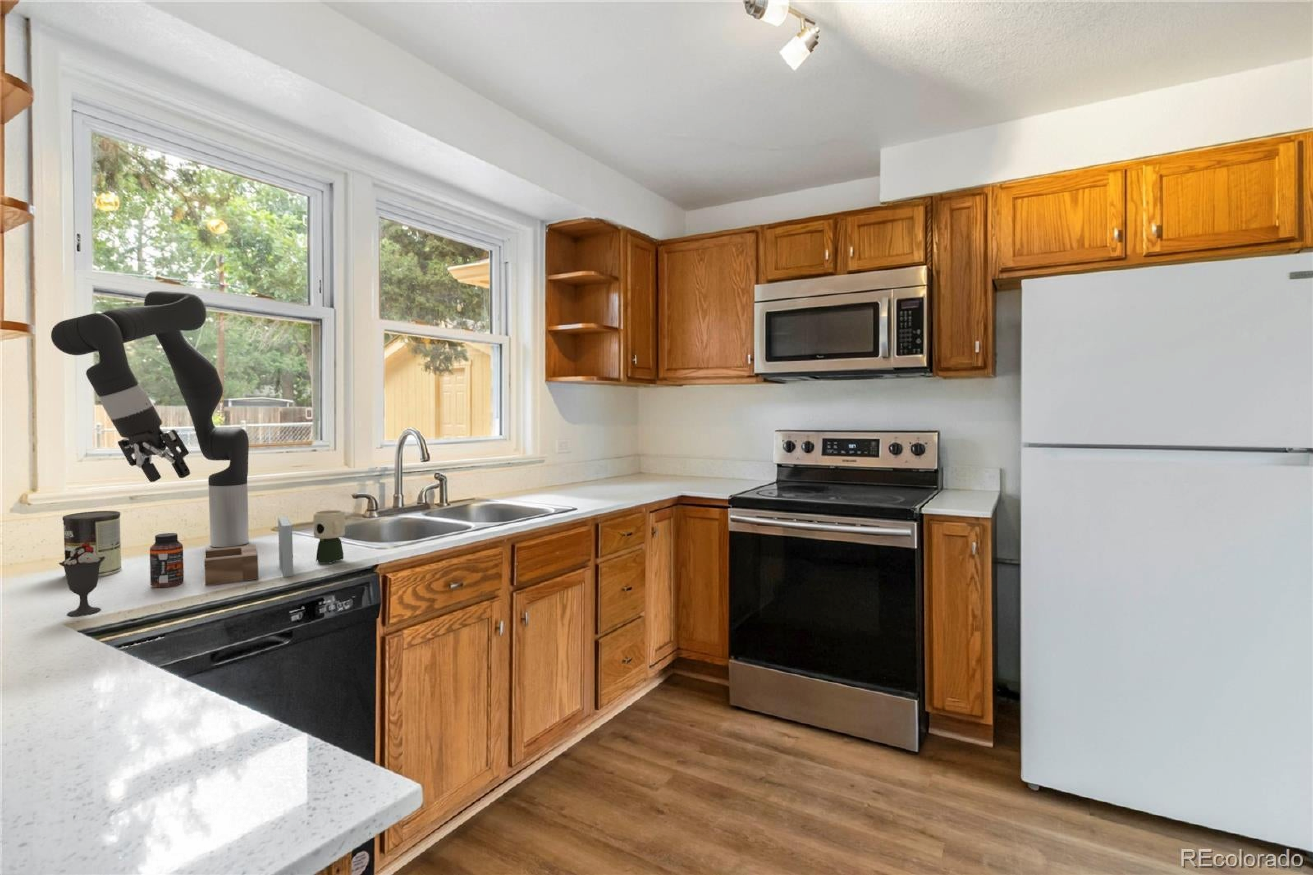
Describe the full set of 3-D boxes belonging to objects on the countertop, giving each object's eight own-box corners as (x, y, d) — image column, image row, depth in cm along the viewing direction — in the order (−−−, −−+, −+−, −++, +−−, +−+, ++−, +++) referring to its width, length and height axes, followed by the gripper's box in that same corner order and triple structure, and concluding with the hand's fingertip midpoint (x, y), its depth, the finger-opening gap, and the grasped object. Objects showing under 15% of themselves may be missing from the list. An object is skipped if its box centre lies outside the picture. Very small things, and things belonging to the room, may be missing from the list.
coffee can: (67, 581, 146) (64, 519, 145) (62, 573, 153) (60, 514, 152) (126, 573, 153) (123, 514, 153) (118, 565, 160) (116, 509, 160)
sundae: (109, 612, 125) (106, 535, 124) (62, 620, 120) (59, 540, 119) (104, 604, 130) (101, 530, 129) (59, 612, 125) (56, 535, 124)
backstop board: (279, 565, 162) (278, 517, 161) (288, 564, 163) (287, 516, 162) (283, 576, 151) (282, 526, 150) (293, 575, 152) (292, 525, 151)
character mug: (307, 561, 166) (306, 510, 165) (336, 556, 171) (335, 507, 171) (323, 568, 159) (322, 516, 158) (352, 563, 164) (352, 512, 163)
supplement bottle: (170, 588, 141) (168, 537, 140) (143, 588, 141) (141, 537, 141) (190, 581, 147) (189, 531, 146) (164, 580, 147) (163, 531, 147)
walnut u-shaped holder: (206, 572, 153) (205, 549, 153) (255, 566, 159) (255, 544, 159) (205, 585, 143) (204, 560, 142) (258, 578, 148) (257, 555, 148)
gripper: (172, 399, 136) (209, 467, 142) (122, 407, 139) (161, 473, 146) (139, 413, 129) (180, 483, 135) (88, 421, 133) (130, 490, 139)
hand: (170, 478), depth 140 cm, fingers open, 8 cm apart
